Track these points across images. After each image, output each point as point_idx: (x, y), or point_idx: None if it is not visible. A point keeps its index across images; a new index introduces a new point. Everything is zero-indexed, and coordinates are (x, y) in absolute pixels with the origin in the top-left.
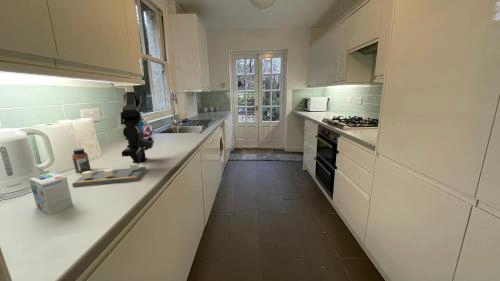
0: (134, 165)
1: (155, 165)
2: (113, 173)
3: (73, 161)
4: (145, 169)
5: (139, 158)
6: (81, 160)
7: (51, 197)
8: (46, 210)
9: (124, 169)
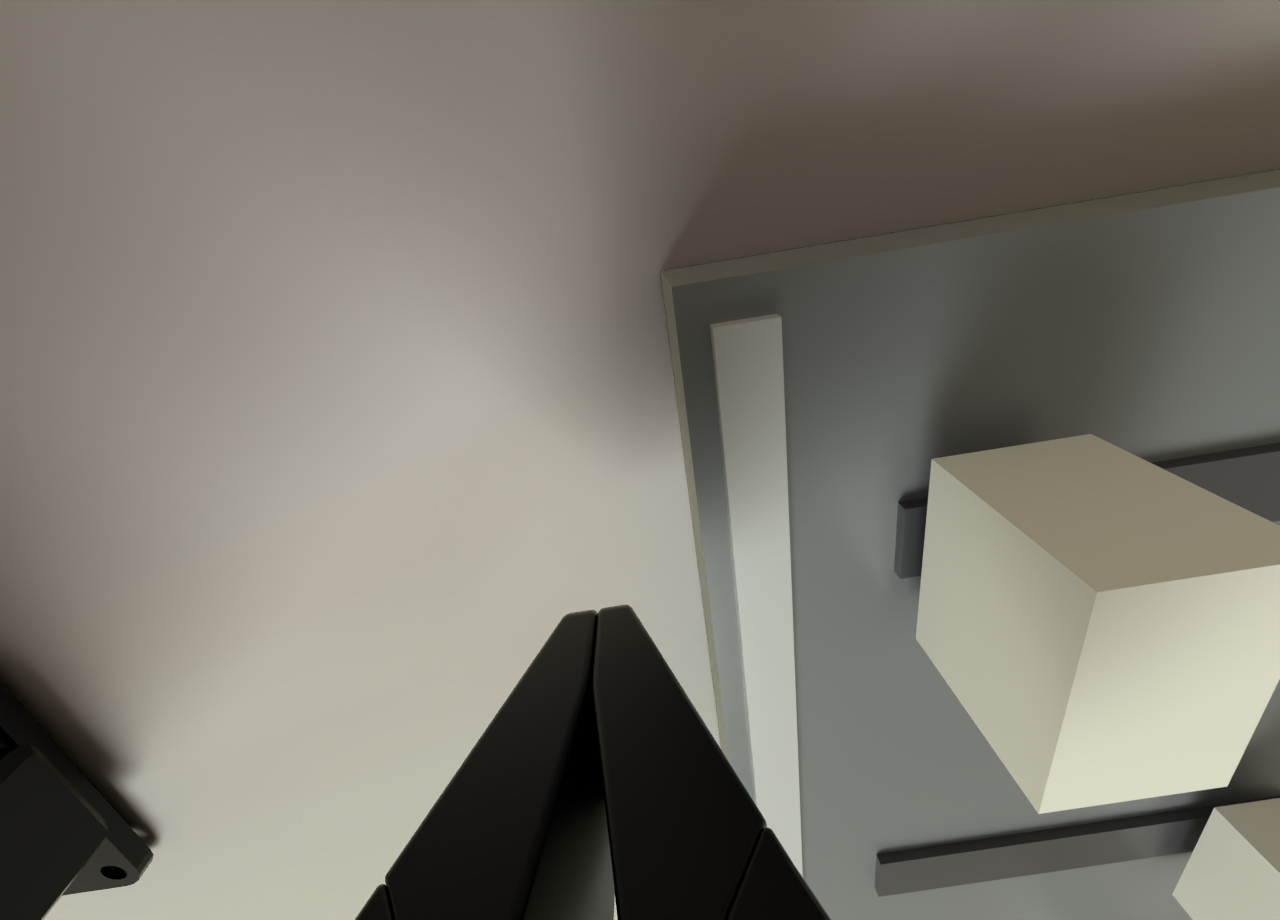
0: (1253, 613)
1: (180, 69)
2: (1266, 843)
3: None
4: (765, 258)
5: (546, 833)
6: None
7: None
8: None
9: (817, 785)
